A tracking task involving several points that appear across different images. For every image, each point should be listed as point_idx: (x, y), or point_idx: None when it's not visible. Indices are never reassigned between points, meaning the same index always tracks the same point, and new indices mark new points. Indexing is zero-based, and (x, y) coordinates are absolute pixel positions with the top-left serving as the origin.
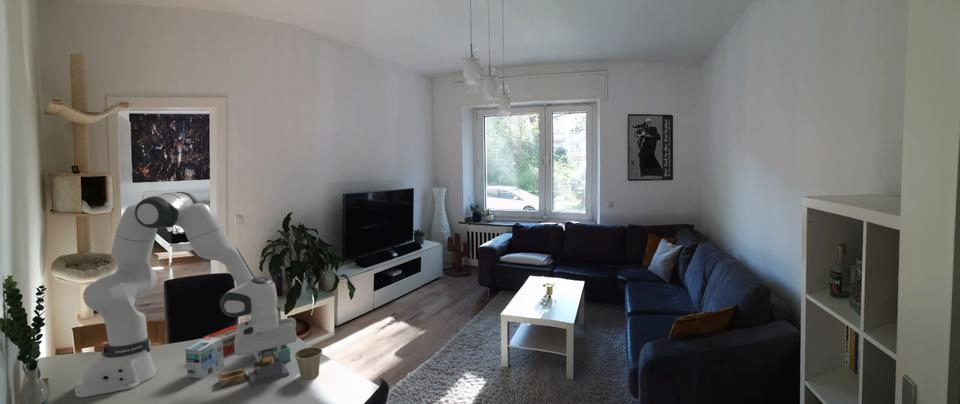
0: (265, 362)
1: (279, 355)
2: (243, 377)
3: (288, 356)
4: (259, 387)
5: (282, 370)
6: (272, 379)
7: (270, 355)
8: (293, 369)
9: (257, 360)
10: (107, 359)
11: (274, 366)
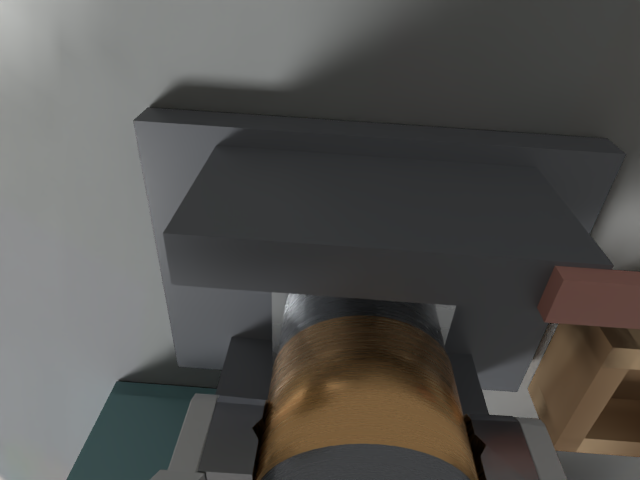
0: (427, 369)
1: None
2: None
3: (112, 424)
4: (579, 10)
5: (204, 166)
6: (358, 123)
7: (333, 469)
8: (91, 214)
9: (559, 460)
10: None
11: (307, 225)
